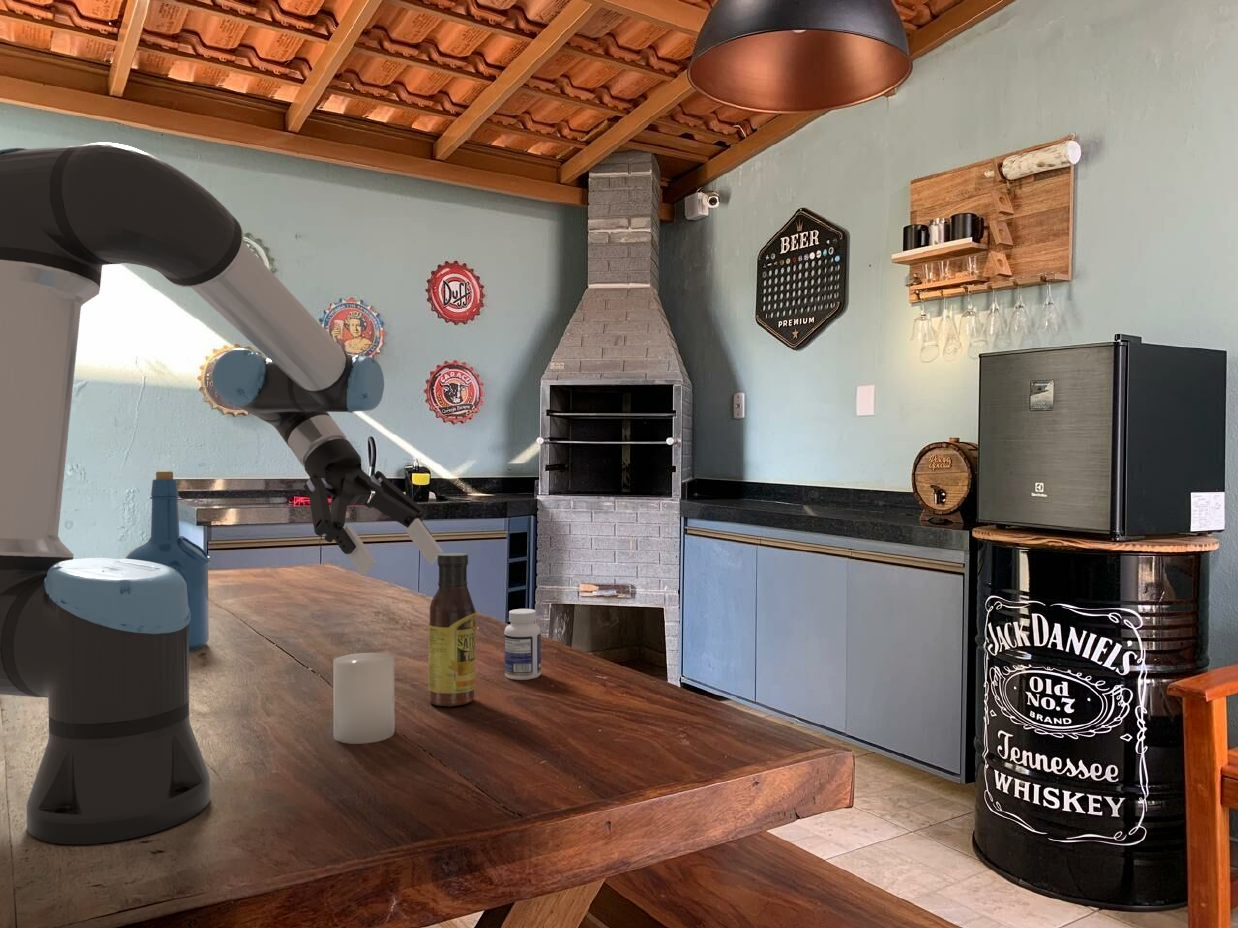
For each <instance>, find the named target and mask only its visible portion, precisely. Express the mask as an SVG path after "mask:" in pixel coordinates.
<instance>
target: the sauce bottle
mask: <svg viewBox="0 0 1238 928" xmlns="http://www.w3.org/2000/svg"><path fill="white" fill-rule="evenodd" d="M468 565H469V555H468V553H464V552H447V553H444V552H443V553H441V554H438V558H437V566H438V582H437V584H438V589H437V592H436V593H435V594H434V596H433V598H432V599H431V601H430V605H429V623H428V659H427V661H428V667H427V668H428V670H427V671H428V673H427V674H428V675H427V677H428V681H427V683H428V684H427V685H428V688H427V689H428V690H429V695H428V696H429V697H428V698H429V702H430V703H431V704H432V705H434V706H437V707H449V708H450V707H456V706H457V707H458V706H463V705H467V704H469V703H472V702H473V700H474V698H475V690H476V670H477V669H476V659H477V658H476V657H477V656H476V654H477V653H476V651H477V650H476V648H477V646H476V645H477V639H476V638H477V634H476V633H477V611H476V609H475V605H474V603H473V599H472V597H471V594H470V591H469V588H468V581H467V579H468V577H467V576H468V573H467V572H468V571H467V568H468Z"/></svg>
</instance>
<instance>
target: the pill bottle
mask: <svg viewBox="0 0 1238 928" xmlns="http://www.w3.org/2000/svg"><path fill="white" fill-rule="evenodd" d="M536 611H537V610H535V609H532V608H518V609H517V608H516V609H512V610H509V611H508V619H509V620H508V621H509V622H510V624H508V625H506V627H505V629H504V633H503V634H504V676H505V677H506V679H510V680H516V681H527V680H534V679H536V678H539V677H540V675H541V674H542V646H541V645H542V637H541V636H542V635H541V634H542V633H541V630H542V629H541V627H540V626H539V624H536V623H535V622H536V620H537V612H536Z"/></svg>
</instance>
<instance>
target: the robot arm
mask: <svg viewBox="0 0 1238 928" xmlns="http://www.w3.org/2000/svg"><path fill="white" fill-rule="evenodd" d="M243 231H244V230H243V228H242V225H241V224H240V222H239V221H238V220H237V218H235V216H234V215H233V214H232V213H231V212H230V211H229V209H227V207H225V206H224V205H223V204H222V203H221V202H220V201H219V200H218V199H217V198H216V197H215V196H214V195H213V194H212V193H211V192H210V191H208V190H207V189H206V188H205V187H203V186H202V185H201V184H200V183H199V182H197V181H196V180H194V179H193V178H191V177H190V176H188V175H187V174H185V173H184V172H183V171H180V170H179V169H178V168H176V167H174V166H173V165H171V164H169V163H168V162H166V161H164V160H162V159H161V158H158V157H156V156H154V155H152V154H150V153H148V152H144V151H142V150H140V149H137V148H135V147H132V146H129V145H125V144H119V143H114V142H113V143H112V142H94V143H93V142H92V143H87V144H78V145H65V146H52V147H50V146H49V147H39V148H37V147H36V148H26V147H10V148H9V147H8V148H3V149H0V695H2V696H14V697H16V696H17V697H28V698H31V697H32V698H47V701H48V706H47V707H48V708H47V709H48V710H47V711H48V714H47V715H48V739H47V744H46V747H45V750H44V751H43V752H44V753H43V755H42V758H41V762H40V764H39V768H38V770H37V773H36V776H35V779H34V782H33V783H32V788H31V790H30V793H29V796H28V798H27V803H26V830H27V832H28V834H29V835H30V836H32V837H33V838H34V839H37V840H39V841H42V842H47V843H52V844H59V845H90V844H91V845H92V844H102V843H105V844H106V843H112V842H118V841H124V840H130V839H135V838H138V837H143V836H146V835H151V834H154V833H158V832H160V831H164V830H166V829H170V828H172V827H175V826H177V825H179V824H182V823H184V822H186V821H188V820H190V819H191V818H194V817H195V816H197V814H199V813H200V812H202V811H203V810H204V809H205V808H206V807H207V806H208V804H209V802H210V800H211V781H210V775H209V774H210V772H209V770H208V768H207V765H206V762H205V759H204V757H203V755H202V752H201V748H200V746H199V744H198V742H197V741H198V740H197V738H196V736H195V733H194V730H193V728H192V725H191V722H190V721H191V720H190V652H189V622H190V619H191V613H190V610H189V607H188V596H187V585H186V582H185V580H184V578H183V577H182V575H181V574H180V573H179V572H178V571H176V570H175V569H173V568H171V567H168V566H166V565H163V564H159V563H154V562H149V561H142V560H134V559H125V558H122V557H121V558H110V557H86V558H85V557H84V558H83V557H82V558H75V559H74V553H73V552H72V551H71V550H70V549H69V548H68V547H67V545H65V544H64V543H63V542H62V541H61V538H60V537H59V530H60V529H59V528H60V520H61V509H62V499H63V490H64V480H65V479H64V478H65V472H66V471H65V468H66V462H67V461H66V458H67V449H68V439H69V430H70V429H69V428H70V421H71V420H70V419H71V409H72V399H73V389H74V379H75V371H76V369H75V368H76V361H77V359H76V358H77V348H78V339H79V329H80V320H81V319H80V318H81V310H82V306H84V304H86V303H88V301H91V300H92V299H93V298H95V297H97V296H98V295H99V294H100V290H101V283H102V282H101V281H102V273H103V272H102V271H103V266H106V265H108V266H109V265H120V264H131V265H135V266H136V265H137V266H142V267H147V268H149V269H152V270H154V271H157V272H158V273H160V274H162V276H163V277H164V278H165V279H166V280H168V281H169V282H170V283H172V284H173V285H175V286H179V287H180V288H181V287H182V288H191V289H192V290H193V291H194V292H195V293H197V294H198V296H200V297H201V298H202V299H203V300H204V301H206V302H207V303H208V305H210V306H211V307H212V308H213V309H214V310H215V311H216V312H217V313H219V315H221V316H222V317H223V318H224V319H225V320H226V321H227V322H228V323H230V324H231V326H233V327H234V329H236V330H237V331H238V332H239V333H240V334H242V335H243V336H244V337H245V338H246V339H247V340H248V341H249V343H251V344H252V345H254V346H255V347H256V348H257V349H258V350H259V351H260V353H262V354H263V355H265V356H266V357H263V356H261V355H260V354H259V353H258V352H255V351H253V350H249V349H247V348H241V347H239V348H233V349H231V350H228V351H226V352H225V353H224V354H223V355H221V356H220V357H219V358H218V359H217V361H216V362H215V364H214V366H213V369H212V373H211V375H212V376H211V383H212V387H213V390H214V391H215V393H216V394H218V396H220V398H223V399H224V400H226V401H227V402H228V403H229V404H231V406H233V407H236V408H239V409H241V410H243V411H245V412H247V413H249V414H251V415H253V416H255V417H257V418H259V419H260V420H261V421H264V422H266V423H267V424H270V425H272V427H274V429H276V431H277V433H279V435H280V436H281V438H282V440H284V442H285V443H286V445H287V446H288V448H290V449H291V451H292V452H293V454H294V456H295V457H296V459H297V460H298V463H300V464H301V466H302V467H303V469H304V471H305V472H306V474H307V475H308V477H309V478H308V480H307V481H306V483H305V484H304V485H303V488H304V490H305V493H307V496H308V498H309V499H308V500H309V505H310V510H311V518H312V523H313V525H312V526H313V530H314V533H315V535H316V536H318V537H322V536H323V535H325V536H324V540H325V541H326V542H327V543H332V542H333V541H335V543H336V544H337V546H338V548H340V550H341V552H343V553H344V554H345V555H347V557H348V558H349V560H350V561H351V563H352V564H353V566H354V568H355V569H356V570H357V572H358V573H359V575H361V576H362V577H363V576H367V574H368V573H369V572H370V571H371V570H372V568H373V567H374V565H375V564H376V563H377V561H376V560H375V558H374V557H373V554H371V552H370V550H369V549H368V548H367V547H366V545H365V544H364V543H363V541H362V539H361V538H360V537H359V535H358V534H357V533H356V531H355V529H354V528H353V527H352V525H346V526H345V524H346V523H345V522H346V517H347V511H348V510H347V509H348V506H353V505H359V506H360V505H363V506H365V507H367V508H374V509H376V510H377V511H379V512H381V513H382V514H383V515H386V516H387V517H389V518H391V519H392V520H394V521H396V522H398V523H399V524H400V525H402V526H404V527H406V530H405V533H406V534H407V536H409V538H410V539H411V541H412V542H413V544H414V545H415V546H416V548H417V549H418V550H419V552H420V553H421V555H422V556H423V558H425V560H426V561H427V563H428V565H433V564H434V563H435V562H436V561H437V560H438V554H443V553H444V551H443V549H442V548H441V546H440V545H439V544H438V542H437V541H436V540H435V539H434V537H433V536H432V535H433V534H432V533H431V531H430V530H429V529H428V527H427V526H426V525H425V523H424V522H423V520H424V518H425V517H427V515H428V511H427V510H426V509H425V508H423V507H422V506H421V505H420V504H418V503H417V502H416V501H414V500H413V498H411V497H410V496H408V494H406V493H405V492H403V491H402V490H401V489H400V488H398V487H397V486H396V485H395V484H393V483H392V481H390V480H389V479H388V478H387V477H386V476H385V474H384V473H383V472H382V471H380V470H377V471H376V472H375V473H374V474H373V475H368V474H367V473H366V472H365V471H364V470H363V467H362V458H361V456H360V454H359V452H358V451H357V450H356V449H355V447H354V446H353V444H352V443H351V442H350V441H349V440H348V439H347V436H346V434H345V433H344V432H343V430H342V429H341V428H340V427H339V424H337V423H336V421H335V420H334V419H333V418H332V416H331V415H330V414H329V413H330V412H331V413H337V412H338V413H351V414H352V413H353V412H365V411H366V412H367V411H368V412H369V411H372V410H374V409H376V408H377V407H378V406H379V405H380V404H381V401H382V400H383V396H384V395H383V394H384V390H385V376H384V373H383V369H382V367H381V365H380V363H379V361H378V360H377V359H375V358H374V357H371V356H367V355H360V354H356V355H349V354H348V353H347V352H346V351H345V350H344V348H343V347H342V346H341V345H340V344H339V343H338V342H337V341H336V340H335V339H334V338H333V336H331V335H330V334H329V332H328V331H327V330H326V329H325V328H324V327H323V326H322V324H320V322H318V321H317V319H315V317H314V316H313V315H312V314H311V313H310V312H309V311H308V310H307V308H306V307H304V305H303V304H302V303H301V302H300V301H299V300H298V298H296V296H294V294H293V293H291V291H290V289H288V288H287V287H286V286H285V285H284V284H283V283H282V282H281V281H280V280H279V278H278V277H277V276H276V275H275V274H274V273H273V271H272V270H271V269H269V267H267V265H266V264H265V263H264V262H263V261H262V260H261V258H260V257H258V256H257V254H256V253H255V252H254V251H253V250H252V249H251V248H250V247H249V246H248V245H247V243H245V242H244V232H243ZM372 492H374V494H373V495H372ZM328 495H330V499H331V500H330V504H329V498H328Z"/></svg>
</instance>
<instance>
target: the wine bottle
mask: <svg viewBox="0 0 1238 928" xmlns="http://www.w3.org/2000/svg"><path fill="white" fill-rule="evenodd" d="M150 491H151V493H150V497H149V499H150V500H151V516H150V519H151V520H150V537H149V539H148V540H147V541H146V542H144V543H143V544H141V545H140V546H137V547H136V548H134V549H133V550H130V551H129V552H128V553H127V554H126V556H125V557H124V559H134V560H142V561H149V562H154V563H159V564H163V565H166V566H168V567H171V568H173V569H175V570H176V571H178V572H179V573H180V574H181V575H182V577H183V578H184V580H185V582H186V585H187V596H188V607H189V610H190V613H191V619H190V622H189V653H190V652H193V651H196V650H199V649H201V648H203V647H205V646H207V644H208V641H209V638H210V637H209V634H210V633H209V629H210V628H209V626H210V625H209V624H210V623H209V621H210V620H209V619H210V618H209V566H208V565H209V564H210V563H211V560H212V559H211V557H210V556H209V554H208V553H207V552H206V551H205V550H204V549H203V548H202V547H201V546H199V545H198V544H195V543H194V542H192V541H191V540H190V539H188V538H186V537H185V536H183V535H180V523H179V522H180V521H179V519H180V518H179V516H180V515H179V502H178V501H179V500H178V499H180V496H179V488H178V480H177V479H176V478H174V472H173V471H172V470H158V471H156V472H155V478H154V479H152V483H151V489H150Z"/></svg>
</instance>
